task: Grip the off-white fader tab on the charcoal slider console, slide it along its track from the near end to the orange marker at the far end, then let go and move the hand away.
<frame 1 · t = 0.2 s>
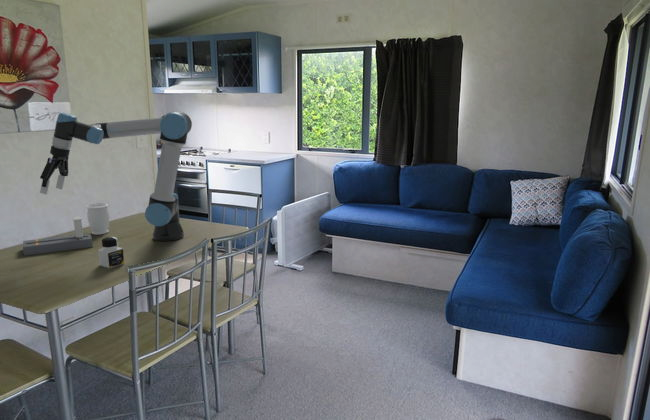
hand: (51, 191, 218), 27 cm above the table, tool tilted 20°, fingers open, 13 cm apart
fader tab: (78, 229, 226), point 8 cm above the table, slide at -9.0 cm
slider console: (59, 247, 223), on the table
medicine bottle: (112, 265, 202), on the table
jar: (100, 233, 249), on the table
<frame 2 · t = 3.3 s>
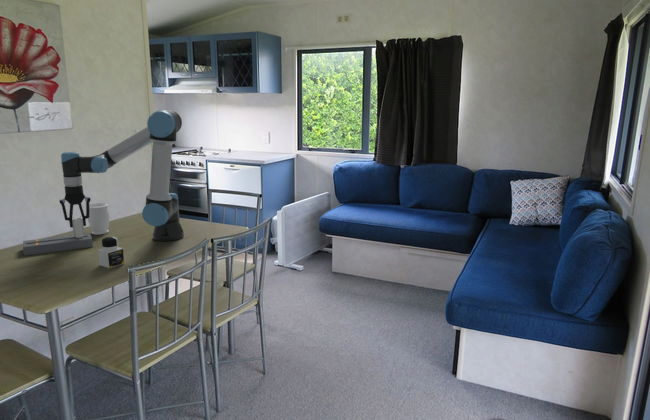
hand: (78, 233, 226), 6 cm above the table, tool pointing down, fingers closed on fader tab, 3 cm apart
fader tab: (78, 229, 226), point 8 cm above the table, slide at -9.0 cm, touching gripper
everything else where it was.
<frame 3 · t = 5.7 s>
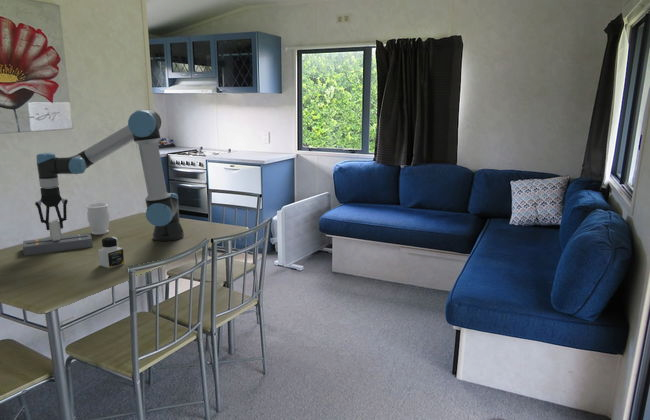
hand: (55, 235, 221), 6 cm above the table, tool pointing down, fingers closed on fader tab, 3 cm apart
fader tab: (55, 232, 221), point 8 cm above the table, slide at 0.7 cm, touching gripper
everything else where it was.
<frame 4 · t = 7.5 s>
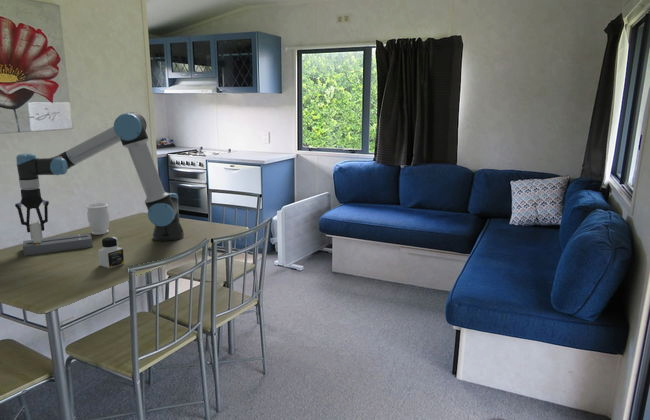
hand: (36, 238, 217), 6 cm above the table, tool pointing down, fingers closed on fader tab, 3 cm apart
fader tab: (36, 234, 217), point 8 cm above the table, slide at 8.3 cm, touching gripper
everything else where it was.
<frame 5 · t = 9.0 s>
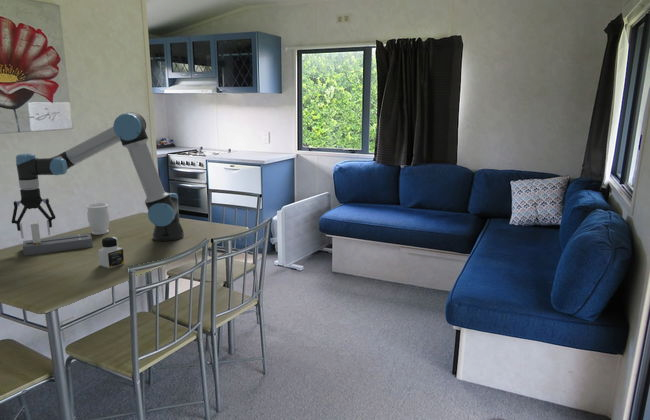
hand: (36, 235, 217), 7 cm above the table, tool pointing down, fingers open, 10 cm apart
fader tab: (36, 234, 217), point 8 cm above the table, slide at 8.5 cm
everything else where it was.
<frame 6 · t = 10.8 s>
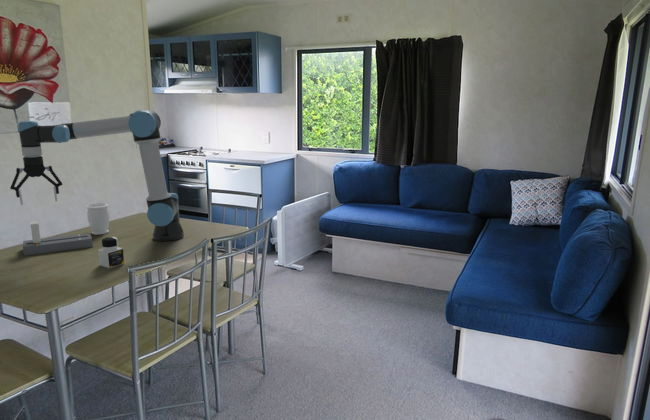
hand: (39, 202, 215), 23 cm above the table, tool pointing down, fingers open, 13 cm apart
nothing on the table moved.
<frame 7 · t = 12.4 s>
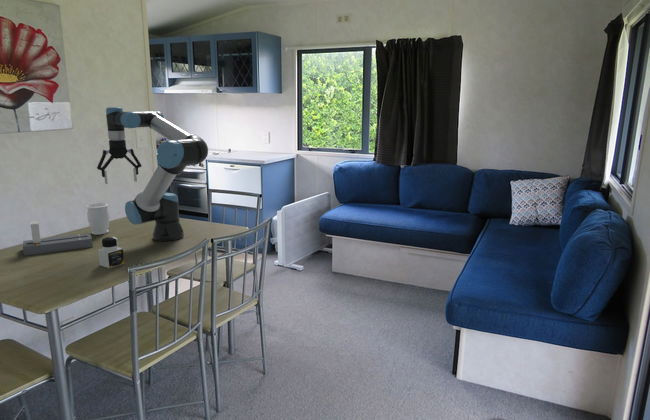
hand: (121, 182, 234), 29 cm above the table, tool pointing down, fingers open, 13 cm apart
nothing on the table moved.
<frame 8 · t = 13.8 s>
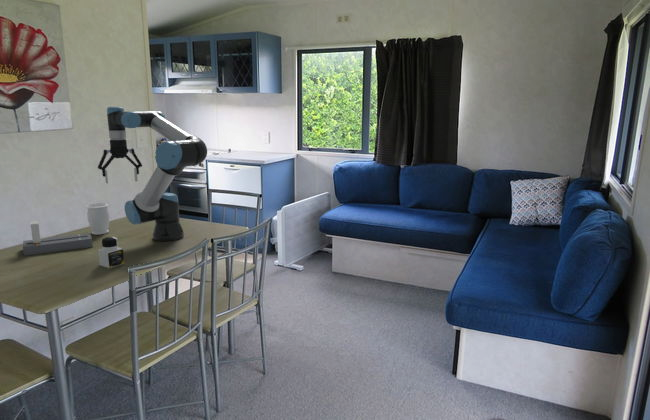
hand: (121, 182, 235), 29 cm above the table, tool pointing down, fingers open, 13 cm apart
nothing on the table moved.
at the end: fader tab slide at 8.5 cm; the gripper is holding nothing; jar moved 0.2 cm from its start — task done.
